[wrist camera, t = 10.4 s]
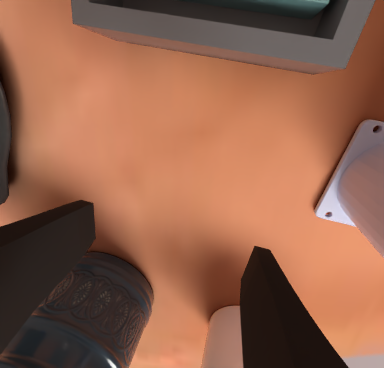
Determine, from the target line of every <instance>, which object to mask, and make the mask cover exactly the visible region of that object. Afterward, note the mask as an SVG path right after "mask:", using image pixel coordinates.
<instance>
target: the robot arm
mask: <svg viewBox="0 0 384 368" xmlns="http://www.w3.org/2000/svg"><path fill="white" fill-rule="evenodd" d="M377 125H378V126H379V128H378V130H377V131H375V132H373V128H374V127H375V126H377ZM327 212H330V214H328V215H325V214H326V213H327ZM314 213H315V215H316V216H317V217H319V218H323V219H327V220H331V221H335V222H339V223H343V224H347V225H351V226H356V227H357V228H358V229H359V230H360V231H361V232H362V234H363V235H364V236H365V237H366V238H367V239H368V241H369V242H370V243H371V244H372V245H373V246H374V248H375V249H376V250H377V251H378V252H379V253H380V255H381V256H382V257H383V258H384V122H382V121H376V120H371V119H367V120H364V121H363V122H361V123H360V125H359V126H358V128H357V130H356V132H355V134H354V136H353V138H352V140H351V141H350V143H349V145H348V147H347V149H346V151H345V153H344V155H343V157H342V159H341V160H340V162H339V164H338V166H337V168H336V170H335V172H334V174H333V176H332V178H331V179H330V181H329V183H328V185H327V187H326V189H325V191H324V193H323V195H322V197H321V198H320V200H319V202H318V204H317V206H316V208H315V210H314ZM95 238H96V236H95V221H94V205H93V203H91V202H87V201H83V200H79V201H75V202H72V203H69V204H66V205H63V206H60V207H57V208H54V209H52V210H49V211H46V212H43V213H40V214H37V215H34V216H31V217H29V218H26V219H23V220H20V221H17V222H14V223H11V224H7V225H4V226H1V227H0V355H1V354H2V352H3V351H4V350H5V348H6V347H7V346H8V344H9V343H10V342H11V340H12V339H13V338H14V336H15V335H16V334H17V332H18V331H19V330H20V328H21V327H22V326H23V325H24V323H25V322H26V321H27V319H28V318H29V317H30V316H31V314H32V313H33V312H34V311H35V310H36V308H37V307H38V306H39V305H40V304H41V303H42V302H43V301H44V299H45V298H46V297H47V296H48V295H49V294H50V293H51V292H52V291H53V289H54V288H55V287H56V286H57V285H58V284H59V283H60V282H61V281H62V280H63V278H64V277H65V276H66V275H67V274H68V273H69V272H70V271H71V270H72V268H73V267H74V266H75V265H76V264H77V263H78V262H79V261H80V259H81V258H82V257H83V256H84V254H85V253H86V252H87V250H88V249H89V247H90V246H91V244H92V243H93V241H94V240H95ZM240 320H241V338H242V355H243V368H348V366H347V365H346V364H345V362H344V361H343V360H342V359H341V357H340V356H339V355H338V353H337V352H336V351H335V349H334V348H333V347H332V345H331V344H330V343H329V341H328V340H327V339H326V337H325V336H324V334H323V333H322V331H321V330H320V329H319V327H318V326H317V324H316V323H315V321H314V320H313V319H312V317H311V316H310V314H309V313H308V311H307V310H306V308H305V307H304V305H303V304H302V302H301V300H300V299H299V297H298V296H297V294H296V293H295V291H294V289H293V288H292V286H291V285H290V283H289V281H288V280H287V278H286V276H285V275H284V273H283V271H282V270H281V268H280V266H279V264H278V263H277V261H276V259H275V258H274V256H273V254H272V253H271V251H270V250H269V249H265V248H261V247H257V246H254V249H253V251H252V254H251V256H250V259H249V261H248V264H247V266H246V269H245V271H244V274H243V276H242V278H241V289H240Z"/></svg>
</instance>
